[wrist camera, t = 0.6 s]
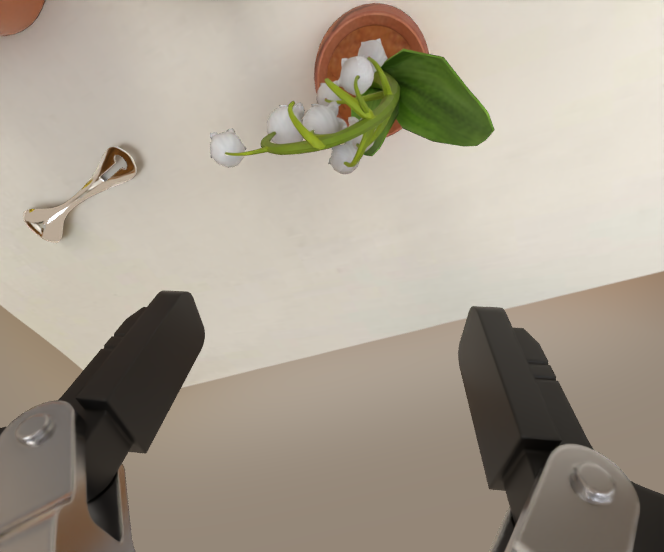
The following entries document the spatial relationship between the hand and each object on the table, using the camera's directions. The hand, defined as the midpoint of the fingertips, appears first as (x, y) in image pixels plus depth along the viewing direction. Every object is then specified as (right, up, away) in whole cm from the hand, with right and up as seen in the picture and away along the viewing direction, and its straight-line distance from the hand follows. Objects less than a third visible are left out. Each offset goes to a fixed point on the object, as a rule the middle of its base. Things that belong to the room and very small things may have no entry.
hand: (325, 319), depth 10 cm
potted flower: (+3, +20, +21) cm, 29 cm away
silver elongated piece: (-29, +11, +31) cm, 44 cm away
